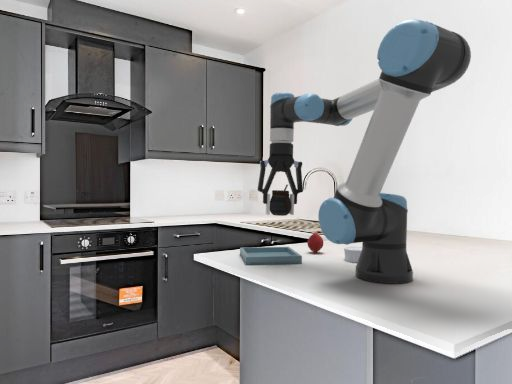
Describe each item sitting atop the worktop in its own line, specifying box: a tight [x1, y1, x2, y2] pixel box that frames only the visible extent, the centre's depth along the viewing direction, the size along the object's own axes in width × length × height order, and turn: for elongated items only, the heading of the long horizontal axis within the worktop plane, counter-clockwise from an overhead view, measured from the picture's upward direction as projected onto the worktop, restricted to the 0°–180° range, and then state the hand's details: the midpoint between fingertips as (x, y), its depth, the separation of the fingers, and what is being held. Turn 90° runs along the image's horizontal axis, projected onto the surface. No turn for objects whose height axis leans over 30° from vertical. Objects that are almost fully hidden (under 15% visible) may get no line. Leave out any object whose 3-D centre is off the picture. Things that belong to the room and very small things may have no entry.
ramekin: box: [343, 245, 362, 264], centre depth 133 cm, size 9×9×4 cm
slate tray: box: [239, 246, 303, 266], centre depth 134 cm, size 18×18×2 cm
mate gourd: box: [270, 184, 291, 217], centre depth 127 cm, size 7×8×10 cm
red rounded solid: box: [307, 230, 324, 254], centre depth 146 cm, size 6×6×8 cm
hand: (279, 214), depth 127 cm, fingers closed on mate gourd, 7 cm apart
